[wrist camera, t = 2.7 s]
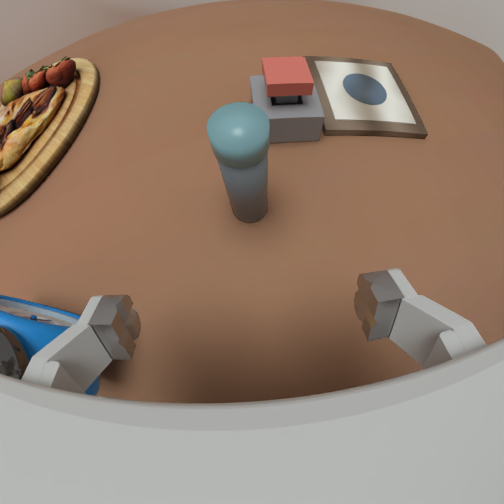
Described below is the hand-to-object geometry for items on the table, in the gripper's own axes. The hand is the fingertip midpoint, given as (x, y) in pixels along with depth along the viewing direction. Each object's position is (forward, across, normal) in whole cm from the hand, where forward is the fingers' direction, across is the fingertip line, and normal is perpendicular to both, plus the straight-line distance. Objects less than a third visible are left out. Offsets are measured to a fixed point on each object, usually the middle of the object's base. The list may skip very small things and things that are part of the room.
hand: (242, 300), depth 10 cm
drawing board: (+27, -15, -6) cm, 31 cm away
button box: (+24, -5, -3) cm, 25 cm away
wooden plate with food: (+32, +36, -10) cm, 49 cm away
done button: (+21, -5, -6) cm, 23 cm away
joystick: (+17, 0, +4) cm, 17 cm away
